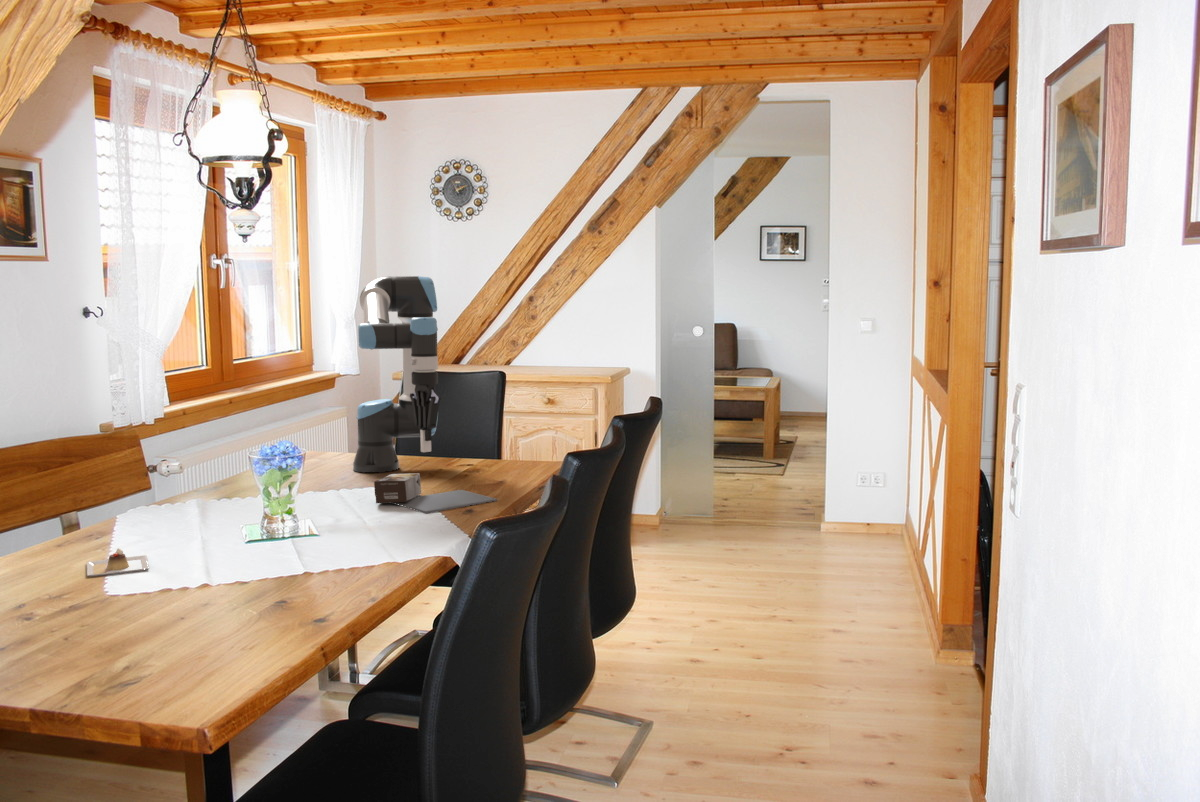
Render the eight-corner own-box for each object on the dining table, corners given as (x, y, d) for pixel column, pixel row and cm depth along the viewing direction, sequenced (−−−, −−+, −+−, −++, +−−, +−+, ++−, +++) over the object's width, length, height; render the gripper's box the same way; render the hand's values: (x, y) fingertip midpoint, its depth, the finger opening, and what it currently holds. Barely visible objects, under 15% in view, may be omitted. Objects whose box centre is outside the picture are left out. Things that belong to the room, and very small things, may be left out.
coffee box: (391, 495, 293) (374, 504, 277) (390, 473, 293) (372, 481, 277) (422, 493, 292) (406, 502, 276) (420, 472, 292) (404, 479, 276)
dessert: (87, 580, 208) (85, 558, 208) (86, 566, 219) (85, 545, 218) (149, 573, 214) (148, 551, 213) (146, 559, 224) (145, 539, 224)
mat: (391, 502, 282) (391, 500, 282) (461, 491, 298) (461, 489, 298) (425, 513, 269) (425, 511, 268) (497, 501, 285) (497, 498, 285)
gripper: (401, 370, 288) (402, 450, 291) (425, 373, 278) (427, 455, 281) (423, 368, 293) (424, 447, 296) (448, 371, 284) (449, 452, 286)
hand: (426, 451), depth 288 cm, fingers closed
